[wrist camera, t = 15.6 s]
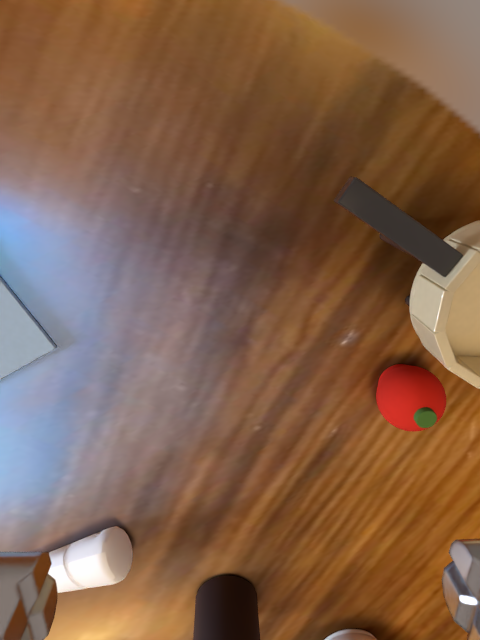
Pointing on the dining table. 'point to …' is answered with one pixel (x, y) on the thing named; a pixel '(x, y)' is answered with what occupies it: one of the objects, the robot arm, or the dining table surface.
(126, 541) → the unicorn horn
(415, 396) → the tomato
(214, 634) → the bottle
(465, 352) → the pan
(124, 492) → the dining table surface
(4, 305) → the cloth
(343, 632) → the lidded bowl
